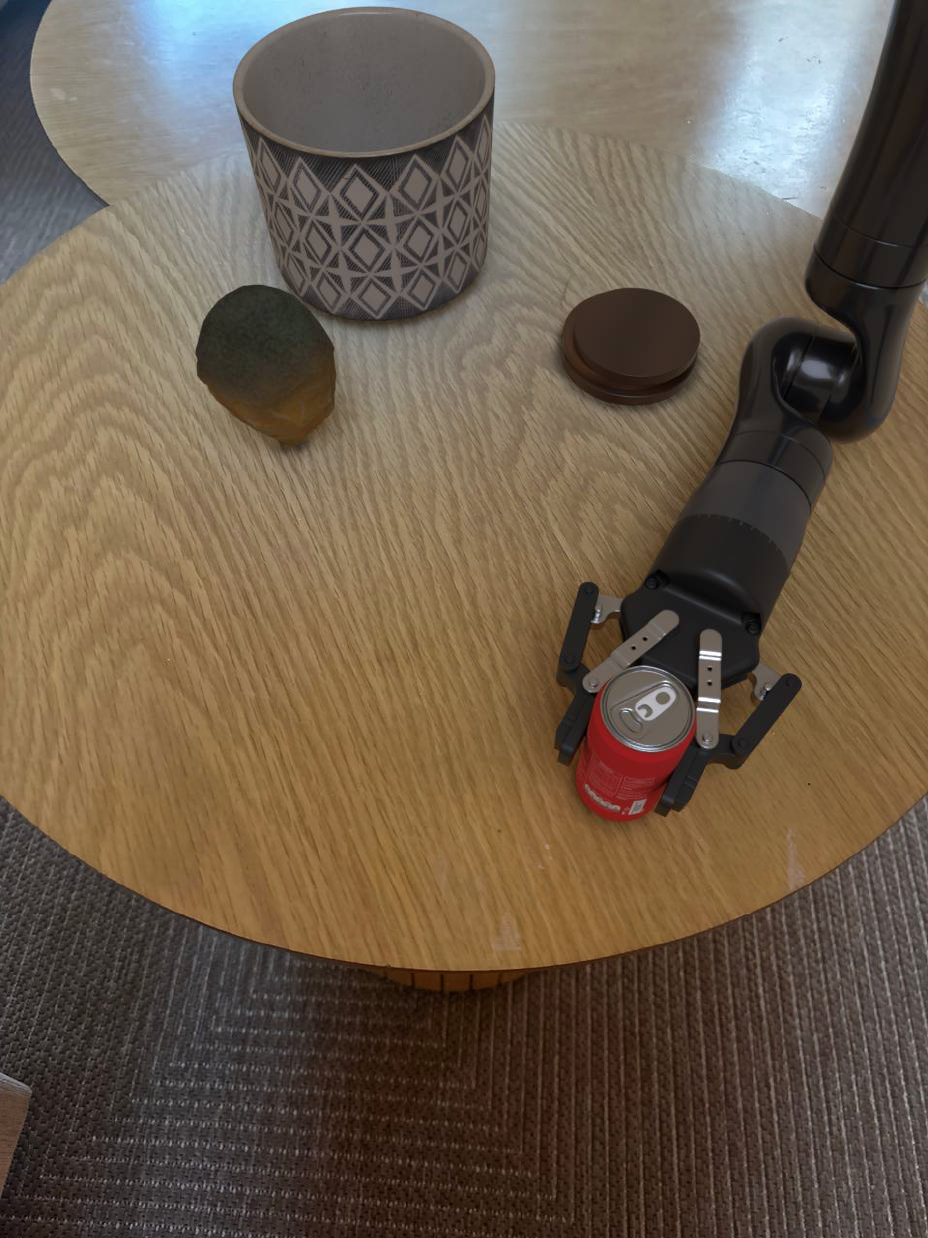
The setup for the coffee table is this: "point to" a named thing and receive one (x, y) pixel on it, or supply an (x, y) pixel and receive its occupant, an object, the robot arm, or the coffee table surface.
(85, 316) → the coffee table surface
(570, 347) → the disc pile
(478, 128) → the planter
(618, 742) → the beverage can
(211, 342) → the decorative stone
